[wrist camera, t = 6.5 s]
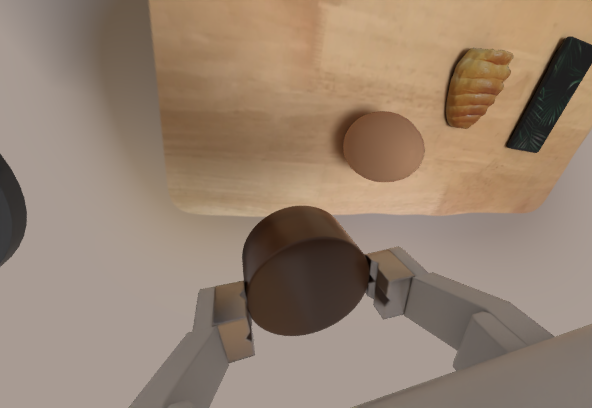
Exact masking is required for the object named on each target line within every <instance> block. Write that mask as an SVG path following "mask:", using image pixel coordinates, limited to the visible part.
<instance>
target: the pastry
mask: <svg viewBox="0 0 592 408" xmlns="http://www.w3.org/2000/svg"><path fill="white" fill-rule="evenodd" d="M512 59H513V54H512V53H510V52H507V51H504V50H494V49H481V48H471V49H470V50H469V51H468V52H467V53H466V54H465V55H464V57H463V58H462V59H461V60H460V61H459V63H458V64H457V66H456V67H455V72H454V75H453V77H452V78H451V82H450V86H449V92H448V95H447V96H448V99H447V101H446V102H447V104H446V115H447V122H448V123H449V125H450V126H452V127H456V128H463V129H467V128H469V127H470V126H471V125H473V124H474V123H476V122H477V121H478V119H479V118H480V117H481V116H483V115H484V114H485V113H486V111H487V108H488V107H489V106H490V105H492V104H493V103H494V101H495V97H496V96H497V95H498V94H499V93H500V92H501V91H502V90H503V89H504V85H503V81H504V80H506V79H507V78H508V77H509V75H510V73H511V70H510V69H509V67H508V65H509V63H510V61H511V60H512Z"/></svg>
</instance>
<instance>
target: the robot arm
mask: <svg viewBox="0 0 592 408" xmlns="http://www.w3.org/2000/svg"><path fill="white" fill-rule="evenodd" d="M364 255H365V257H366V259H367V262H368V265H369V282H368V286H367V289H366V291H365V293H366V294H367V296H369V297H371V298H373V299H374V307H375V308H376V310H377V311H378V312H379V314H380V315H381V317H382V318H383V319H387V318H391V317H395V316H399V315H403V314H404V316H406V317H407V318H409V319H410V320H412V321H413V322H415V323H416V324H418V325H419V326H421V327H423V328H424V329H426V330H427V331H429V332H430V333H432V334H433V335H435V336H436V337H438V338H439V339H441V340H442V341H444V342H445V343H447V344H448V345H450V346H452V347H453V348H455V349H456V350H457V354H456V357H455V359H454V362H453V367H454V368H455V370H456V371H455V372H452V373H450V374H447V375H444V376H441V377H438V378H435V379H432V380H429V381H427V382H424V383H421V384H418V385H415V386H412V387H409V388H406V389H403V390H400V391H398V392H395V393H392V394H389V395H386V396H383V397H380V398H377V399H375V400H372V401H369V402H366V403H363V404H360V405H357V406H354V407H352V408H592V324H590V325H587V326H584V327H582V328H579V329H576V330H573V331H570V332H567V333H564V334H562V335H559V336H556V337H554V336H553V335H552V334H550V333H549V332H548V331H547V330H545V329H544V328H543V327H541V326H540V325H539V324H538V323H536V322H535V321H534V320H532V319H531V318H530V317H528V316H527V315H526V314H525V313H523V312H522V311H521V310H519V309H518V308H517V307H515V306H514V305H513V304H511V303H510V302H508V301H505V300H503V299H500V298H498V297H495V296H492V295H490V294H487V293H485V292H482V291H479V290H477V289H474V288H472V287H469V286H467V285H464V284H461V283H459V282H456V281H454V280H451V279H449V278H446V277H443V276H441V275H438V274H436V273H428V272H427V271H426V270H425V269H424V268H423V267H422V266H421V265H420V264H419V263H417V262H416V261H415V260H414V259H413V258H412V257H411V256H410V255H409V254H408V253H407V252H406V251H405V250H403V249H402V248H401V247H394V248H390V249H386V250H382V251H377V252H373V253H368V254H364ZM247 304H248V301H247V297H246V288H245V281H239V282H234V283H229V284H224V285H219V286H215V287H210V288H205V289H200V291H199V293H198V299H197V305H196V312H195V319H194V325H193V332H189V333H187V334H186V336H185V337H184V338H183V339H182V341H181V342H180V343H179V344H178V346H177V347H176V348H175V350H174V351H173V352H172V353H171V355H170V356H169V357H168V359H167V360H166V361H165V362H164V363H163V365H162V366H161V367H160V368H159V370H158V371H157V373H155V375H154V376H153V377H152V379H151V380H150V381H149V382H148V384H147V385H146V386H145V387H144V389H143V390H142V391H141V392H140V394H139V395H138V397H136V399H135V400H134V401H133V403H132V404H131V405H130V406H129V408H209V407H210V404H211V402H212V400H213V398H214V396H215V394H216V392H217V389H218V387H219V385H220V383H221V381H222V379H223V377H224V375H225V372H226V370H227V368H228V366H229V364H228V363H232V362H235V361H238V360H241V359H244V358H248V357H251V356H254V355H255V351H254V340H253V333H252V328H251V326H252V319H251V316H250V311H249V310H248V309H247Z"/></svg>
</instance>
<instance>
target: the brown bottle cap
mask: <svg viewBox="0 0 592 408" xmlns="http://www.w3.org/2000/svg"><path fill="white" fill-rule="evenodd" d="M242 260H243V274H244V281H245V288H246V297H247V301H248V304H247V309H248V310H249V311H250V316H251V318H252V319H253V320H254V322H255V323H256V324H257V325H258V326H260V327H261V328H263V329H264V330H266V331H269V332H271V333H274V334H277V335H284V336H300V335H306V334H310V333H314V332H318V331H320V330H323V329H325V328H328V327H330V326H332V325H334V324H335V323H337V322H338V321H340V320H341V319H343V318H344V317H345V316H347V315H348V314H349V313H350V312H351V311H352V310H353V309H354V308H355V307H356V306H357V304H358V303H359V302H360V300H361V299H362V297H363V295H364V293H365V291H366V289H367V286H368V282H369V265H368V262H367V259H366V257H365V255H364V254H363V252H361V250H360V249H359V247H358V246H357V245H356V244H355V243H354V242H353V240H352V239H351V238H350V236H349V235H348V234H347V233H346V231H345V230H344V229H343V227H342V226H341V225H340V224H339V222H338V221H337V220H336V219H335V218H334V217H333V216H332V215H331V214H329V213H328V212H326V211H324V210H322V209H319V208H316V207H311V206H292V207H288V208H284V209H281V210H278V211H276V212H274V213H272V214H270V215H269V216H267V217H265V218H264V219H263V220H262V221H260V222H259V223H258V224H257V225H256V226H255V227H254V229H253V230H252V231H251V233H250V234H249V236H248V238H247V239H246V242H245V244H244V248H243V254H242Z"/></svg>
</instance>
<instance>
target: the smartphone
mask: <svg viewBox="0 0 592 408" xmlns="http://www.w3.org/2000/svg"><path fill="white" fill-rule="evenodd" d="M591 64H592V45H591V44H589V43H586V42H584V41H581V40H579V39H577V38H574V37H567V38H566V39H565V40H564V41H563V43H562V45H561V47H560V49H559V50H557V52H556V54H555V56H554V57H553V59H552V61H551V63H550V65H549V69H548V71H547V73H546V74H545V76H544V78H543V80H542V82H541V84H540V85H539V87H538V89H537V91H536V93H535V95H534V97H533V98H532V100H531V102H530V104H529V106H528V108H527V109H526V111H525V113H524V115H523V117H522V119H521V120H520V122H519V124H518V126H517V128H516V130H515V132H514V133H513V135H512V137H511V139H510V141H509V143H508V144H507V147H508V148H511V149H517V150H522V151H528V152H533V153H537V152H539V150H540V149H541V147H542V145H543V144H544V142H545V140H546V139H547V137H548V135H549V134H550V132H551V130H552V129H553V127H554V125H555V124H556V122H557V120H558V119H559V117H560V115H561V114H562V112H563V111H564V109H565V107H566V106H567V104H568V102H569V101H570V99H571V97H572V96H573V94H574V92H575V91H576V89H577V87H578V86H579V84H580V82H581V81H582V79H583V77H584V76H585V74H586V72H587V71H588V69H589V67H590V66H591Z"/></svg>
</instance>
